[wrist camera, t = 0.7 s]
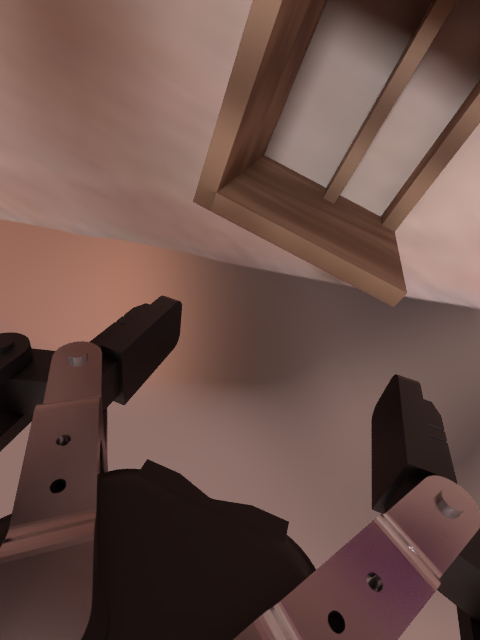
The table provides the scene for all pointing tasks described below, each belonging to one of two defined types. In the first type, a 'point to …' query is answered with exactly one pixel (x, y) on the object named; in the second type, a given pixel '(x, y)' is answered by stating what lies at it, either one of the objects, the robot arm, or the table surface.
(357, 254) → the cabinet
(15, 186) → the table surface
